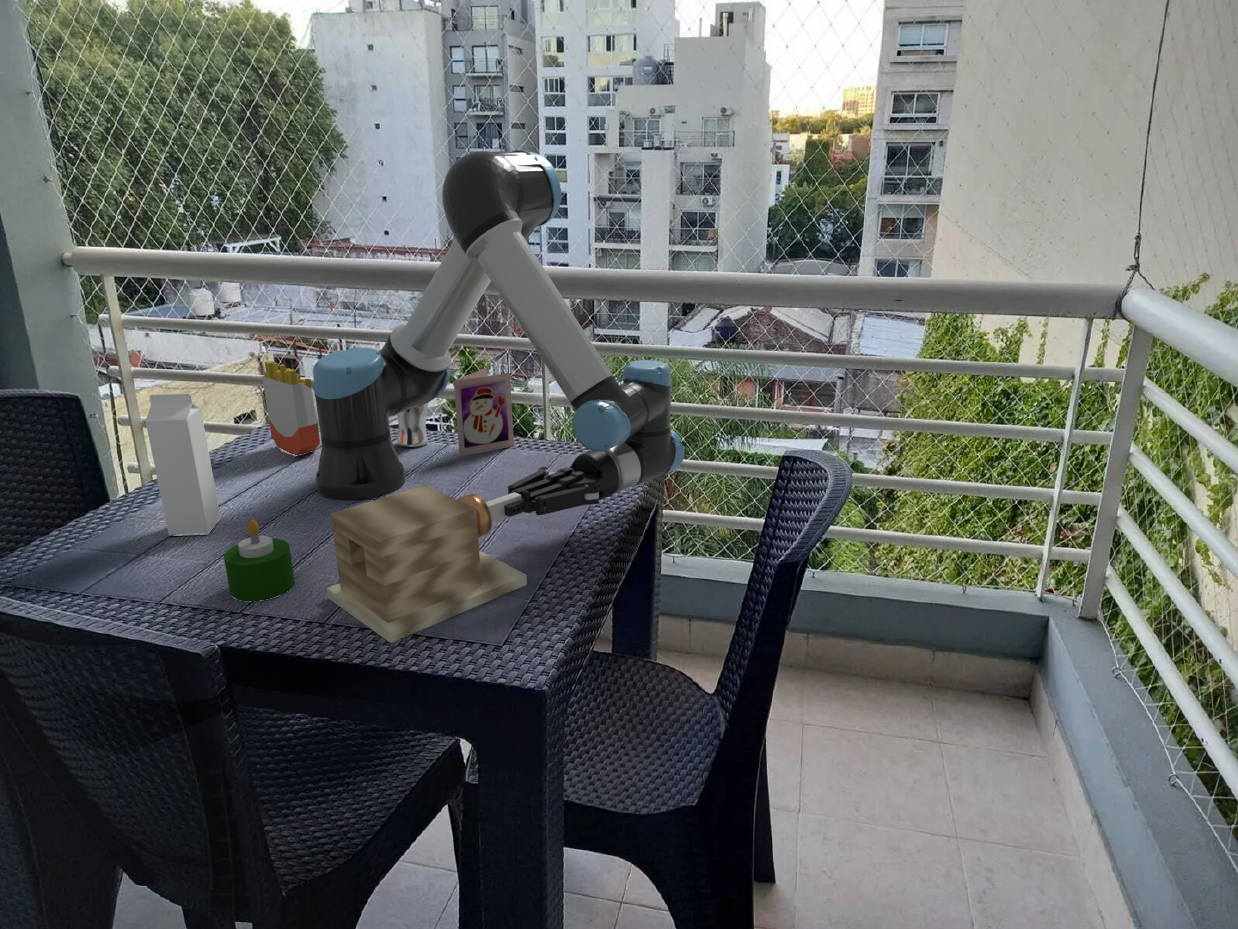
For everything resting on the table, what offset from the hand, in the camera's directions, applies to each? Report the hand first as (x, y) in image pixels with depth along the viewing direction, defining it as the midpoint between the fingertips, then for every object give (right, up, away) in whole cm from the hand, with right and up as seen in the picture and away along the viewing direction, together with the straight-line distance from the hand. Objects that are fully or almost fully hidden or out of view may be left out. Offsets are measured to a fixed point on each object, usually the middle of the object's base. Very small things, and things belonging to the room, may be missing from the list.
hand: (481, 515), depth 121 cm
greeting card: (-8, +10, +54) cm, 55 cm away
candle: (-30, -10, -1) cm, 31 cm away
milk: (-48, -3, +18) cm, 51 cm away
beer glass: (-23, +11, +56) cm, 62 cm away
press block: (-7, -10, -3) cm, 12 cm away
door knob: (-6, -5, -4) cm, 9 cm away
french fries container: (-45, +9, +52) cm, 70 cm away
